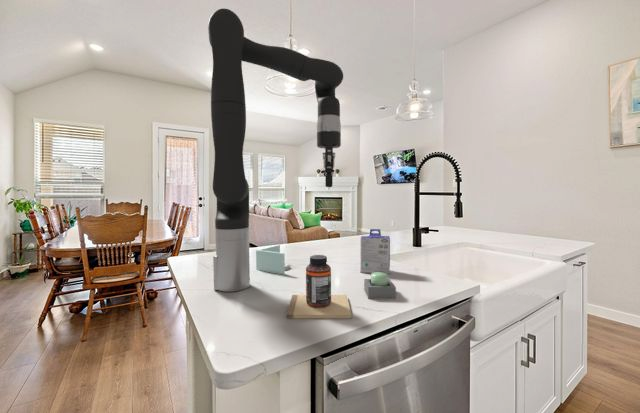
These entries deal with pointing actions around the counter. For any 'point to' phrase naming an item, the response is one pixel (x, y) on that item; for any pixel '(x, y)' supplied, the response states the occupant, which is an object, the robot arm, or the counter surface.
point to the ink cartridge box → (375, 253)
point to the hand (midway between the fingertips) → (328, 186)
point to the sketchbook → (319, 308)
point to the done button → (379, 279)
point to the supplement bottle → (318, 282)
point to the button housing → (380, 290)
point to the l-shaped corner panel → (271, 260)
